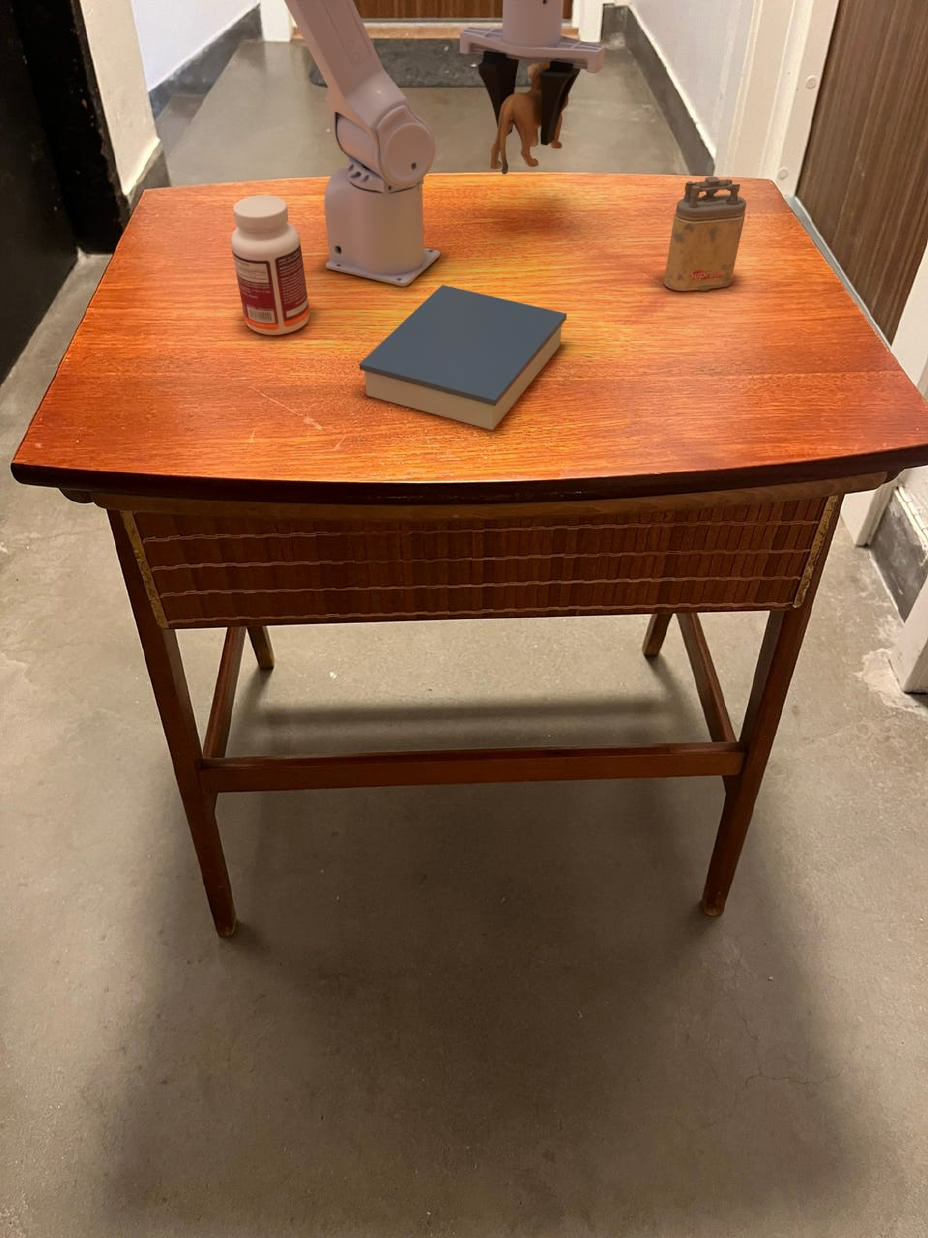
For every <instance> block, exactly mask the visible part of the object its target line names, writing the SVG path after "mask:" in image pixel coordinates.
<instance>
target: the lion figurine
mask: <svg viewBox="0 0 928 1238" xmlns="http://www.w3.org/2000/svg"><path fill="white" fill-rule="evenodd" d="M547 68H550V64H545V63H539V62H533V63H532V64H531V65H529V66H528V67H527V68H526V70H527V76H528V78H529V80H531V85H530V86H531V87H530V90H528V91H526V92H523V91H522V92H520V91H519V92H514V94H512V95H510V96H509V97H507V98H506V100H505V101H504V103H503V104H502V107H501V110H500V116H499V123H498V128H497V132H496V137H495V140H494V143H493V144H492V147H491V151H490V152H491V153H490V157H491V158H490V165H489V166H490V167H489V168H490V169H491V170H500V169H501V174H502V175H507V174H508V173H509V172H508V171H509V163H508V161H507V160H508V159H507V153H506V151H507V149H506V148H507V147H506V146H507V137H508V136H509V135H508V133H509V132H510V130H511V128H512V126H513V127H514V128H515V129H516V130H515V131H517V134H518V136H519V139H520V142H521V150H520V155H521V157H522V158H523V161H524V162H525V165H526V166H527V167H530V168H535V167H539V160H538V159H537V158H532V155H531V148H535V147H538V145H539V141H540V140H539V139H540V137H539V132H538V131H539V129H540V128H541V121H542V92H541V83H540V73H542V72H543V71H544V70H546V69H547ZM569 101H570V99H569V95H568V96H567V98H566V101H565V103H564V106H563V108H562V111H561V114H560V117H559V120H558V124H557V128H556V132H555V136H554V140H553V141H552V142H551V143H549V145H550V148H552V149H554V150H558V149H559V150H561V149H562V148H563V144H562V142H561V141H559V139H560V134H561V129H562V125H563V113H562V112H564V110H565V109H566V107H568V105H569ZM507 135H508V136H507ZM499 156H500V159H501V160H499Z"/></svg>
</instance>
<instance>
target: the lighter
mask: <svg viewBox="0 0 928 1238" xmlns="http://www.w3.org/2000/svg"><path fill="white" fill-rule="evenodd" d="M740 187H741V183H733V180H732V179H729V178H726V179H719V177H717V176H707V177H705V179H704V180H701V181H695V182H694V181H691V180H689V181H687V182H686V183H685V184H684V197H683V198H682V199H680V200H679V201H678V202H677V203H676V208H675V209H676V210H675V213H674V215H673V221H672V228H671V235H670V241H669V246H668V252H667V259H666V266H665V273H664V277H663V280H662V281H663V285H664V286H666V288H668V289H670V290H674V291H679V292H687V291H701V292H706V291H709V290H711V289H717V288H725V287H727V286H730V285H731V284H732V283H733V275H734V272H735V271H734V270H735V266H736V260H737V256H738V251H739V246H740V241H741V237H742V233H743V227H744V223H745V219H746V218H745V217H746V213H745V212H746V207H747V200H746V199H745V198H743V197H741V196H738V195H739V194H738V193H739V192H740ZM723 190H724V191H725V190H727V191H729V192H730V194H717V193H718V192H719V191H723ZM704 192H705V194H704V195H701V196H700V193H704ZM716 194H717V195H716Z"/></svg>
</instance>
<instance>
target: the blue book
mask: <svg viewBox="0 0 928 1238" xmlns="http://www.w3.org/2000/svg"><path fill="white" fill-rule="evenodd" d="M567 315H568V314H567V313H565V312H561V311H557V310H552V309H548V308H544V307H541V306H540V307H539V306H536V305H532V304H526V303H523V302H519V301H513V300H509V299H505V298H501V297H497V296H492V295H488V294H484V293H479V292H475V291H471V290H466V289H463V288H459V287H458V288H457V287H454V286H449V285H445V284H441V286H439V287H438V288H437V289H436V290H435V291H434V292H433V293H432V294H431V295H430V296H429V297H428V298H427V299H426V300H424V302H422V303H421V304H420V305H419V306H418V307H417V308H416V309H415V310H414V311H413V312H412V313H411V314H410V315H408V316H407V318H405V320H404V321H403V322H401V323H400V324H399V325H398V326H397V327H396V328H395V329H394V330H393V331H392V332H391V333H390V334H389V335H388V336H387V337H386V338H384V340H382V342H380V344H378V345H377V346H376V347H375V348H374V349H373V350H372V351H371V352H369V354H368V355H367V356H365V358H363V360H361V361H360V363H359V364H358V365H359V366H358V367H359V370H360V371H363V372H364V378H365V392H366V396H368V397H371V398H374V399H378V400H382V401H385V402H389V403H393V404H397V405H400V406H402V407H403V406H404V407H406V408H407V407H408V408H410V409H414V410H418V411H421V412H425V413H429V414H432V415H436V416H439V417H442V418H443V417H444V418H447V419H450V420H454V421H458V422H461V423H465V424H468V425H473V426H475V427H479V428H483V429H486V430H489V431H493V430H495V428H497V426H498V424H499V423H500V422H501V421H502V420H503V418H504V417H505V416H506V414H507V413H508V412H509V410H510V409H511V408H512V407H513V405H514V404H515V403H516V402H517V401H518V400H519V398H520V397H521V395H522V394H523V393H524V392H525V391H526V390H527V388H528V387H529V385H530V384H531V383H532V382H533V380H534V379H536V377H537V376H538V374H539V373H540V372H541V370H542V369H543V368H544V367H545V365H546V364H547V363H549V360H550V359H551V358H552V356H553V355H554V354H555V353H556V352H557V350H558V349H559V348H560V347H561V339H562V326H563V324H564V323H565V322H566V321H567Z"/></svg>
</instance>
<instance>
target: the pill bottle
mask: <svg viewBox="0 0 928 1238" xmlns="http://www.w3.org/2000/svg"><path fill="white" fill-rule="evenodd" d="M232 211H233V218H234V222H235V225H236V226H237V228H235V230H234V231H233V232H232V235H231V237H230V246H231V252H232V257H233V258H232V259H233V263H234V269H235V274H236V280H237V285H238V291H239V295H240V300H241V307H242V313H243V318H244V321H245V323H246V325H247V326H248V327H249V329H251V330H252V331H254V332H256V333H259V334H262V335H267V336H279V335H286V334H290V333H292V332H295V331H298V330H299V329H301V328H302V327H303V326H306V324H307V323H308V321H309V319H310V314H311V313H310V303H309V296H308V288H307V282H306V275H305V267H304V260H303V253H302V245H301V238H300V234H299V232H298V230H297V228H296V227H295V226H294V225H293V224H291V223H290V222H289V212H288V205H287V202H286V201H285V200H284V199H283V198H281V197H279V196H275V195H267V194H260V195H252V196H248V197H245V198H241V199H240V200H238V201H237V202H235V204H234V205H233V210H232Z"/></svg>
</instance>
